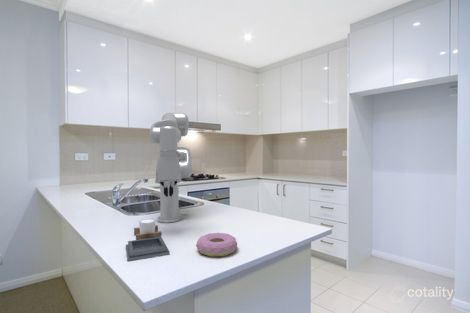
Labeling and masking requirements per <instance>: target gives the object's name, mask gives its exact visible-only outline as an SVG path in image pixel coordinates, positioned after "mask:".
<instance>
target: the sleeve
mask: <svg viewBox="0 0 470 313" xmlns="http://www.w3.org/2000/svg"><path fill="white" fill-rule="evenodd" d="M133 234H134V235H133V236H135V240H141V239H148V238H156V237H162V231H161V230H160V231H159V225H158V224H157V225H156V224H155V232H152V233H144V234H140V227H139V226H138V227H134V228H133Z"/></svg>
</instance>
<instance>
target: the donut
mask: <svg viewBox="0 0 470 313" xmlns="http://www.w3.org/2000/svg"><path fill="white" fill-rule="evenodd" d="M195 246H196V249H197V250H198V251H199V253H200V254H202V255H204V256H207V257H209V258H210V257H213V258H215V257H225V256H229V255H231V254H232V253H234V252H235V251H236V250H237V247H238V242H237V239H236V237H235V236H233V235H231V234H229V233H223V232H211V233H207V234H205V235H202V236H200V237H199V238H198V239H197V241H196V245H195Z"/></svg>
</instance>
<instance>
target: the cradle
mask: <svg viewBox="0 0 470 313" xmlns="http://www.w3.org/2000/svg"><path fill="white" fill-rule="evenodd" d="M125 252H126V259H127V262H133V261H138V260H145V259H149V258H150V259H151V258H155V257H156V256H158V257H163V255H164V256H168V255H171V254H170V250H169V248H168V246H167V244H166V242H165V240H164V238H162V236H161V237H156V238H148V239H141V240H136V239H134V240H133V239H132V240H128V241H127V243H126V244H125ZM156 258H157V257H156Z"/></svg>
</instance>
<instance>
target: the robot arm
mask: <svg viewBox="0 0 470 313" xmlns="http://www.w3.org/2000/svg"><path fill="white" fill-rule="evenodd" d="M189 123H190V122H189V117H188V115H187V114H186V113H184V112H166V113H164V114H163V115H162V118H161V120H159V121H156V122H154V123H152V124H151V126H150V129H149V140H150V142H151V143H153V144H159V157H157V159H156V166H155V167H156V169H155V181H154V183H155V184H158V185H159V186H160V187H159V188H160V189H159V191H160V192H159V195H160V196H159V200H160V201H159V202H160V203H159V205H160V206H159V207H160V208H159V209H160V210H159V211H160V212H159V216H158V217H157V219H156V220H157V221H156V222H159V223H165V224H166V223H177V222H180V221H181V220H182V216H188V211H181V210H180V208H179V204H180V203H179V201H180V200H179V194H180V193H179V192H180V191H179V185H178V184H179V183H181V182H182V179H189V178H191V177H192V174H193V164H192V153H191V150H190V149H189V148H188V147H178V144H179V142H180V141H181V140H182V137H186V136H187V135H188V133H189Z"/></svg>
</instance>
